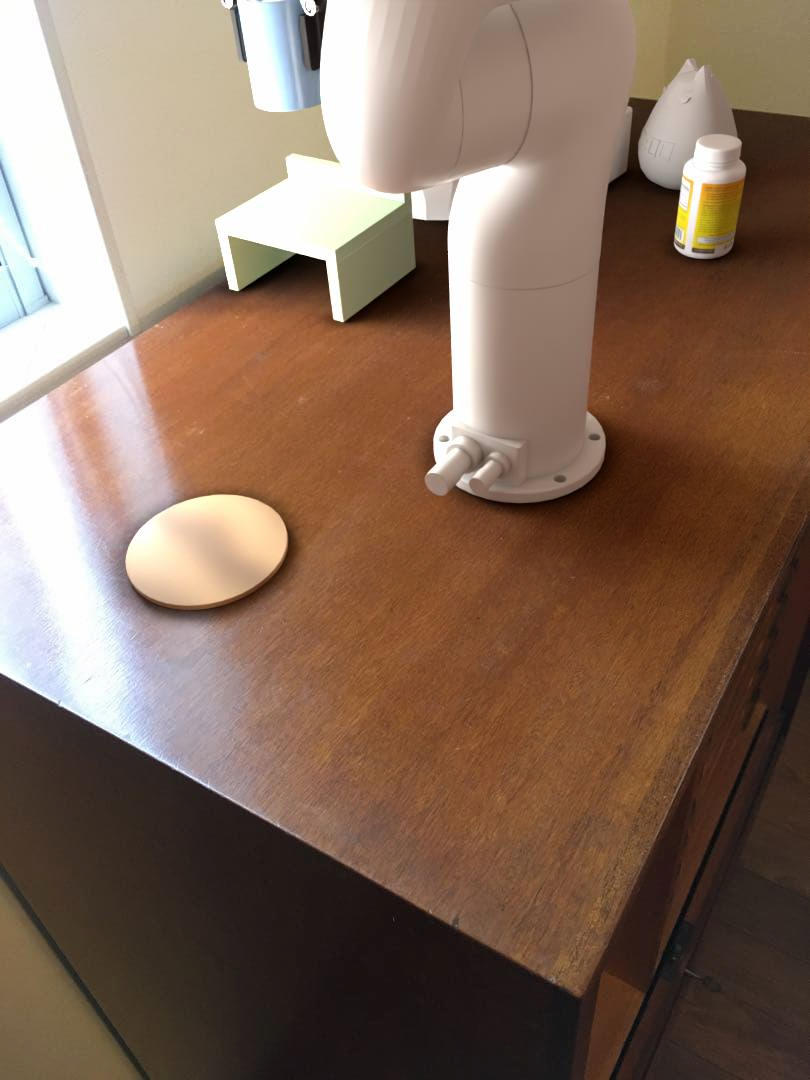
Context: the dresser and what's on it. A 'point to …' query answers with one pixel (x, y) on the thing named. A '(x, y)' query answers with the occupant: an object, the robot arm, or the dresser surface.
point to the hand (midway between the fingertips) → (286, 59)
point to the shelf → (322, 232)
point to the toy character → (683, 123)
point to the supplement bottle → (710, 198)
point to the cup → (277, 56)
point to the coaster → (206, 552)
